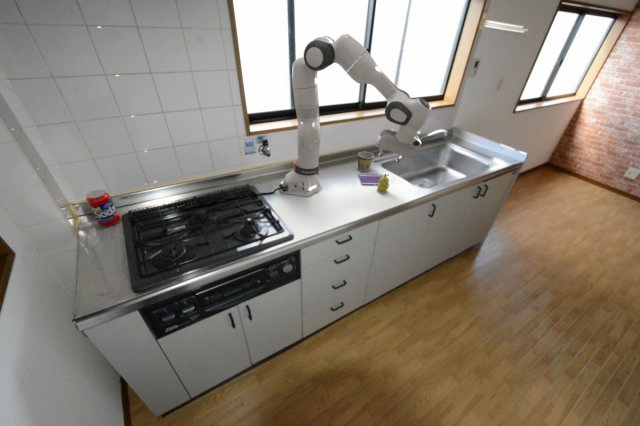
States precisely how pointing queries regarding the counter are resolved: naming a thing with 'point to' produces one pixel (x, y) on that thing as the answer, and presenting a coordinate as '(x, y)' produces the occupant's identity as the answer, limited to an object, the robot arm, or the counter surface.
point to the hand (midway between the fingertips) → (388, 158)
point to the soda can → (102, 207)
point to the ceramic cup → (364, 161)
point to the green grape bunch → (383, 184)
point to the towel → (370, 179)
